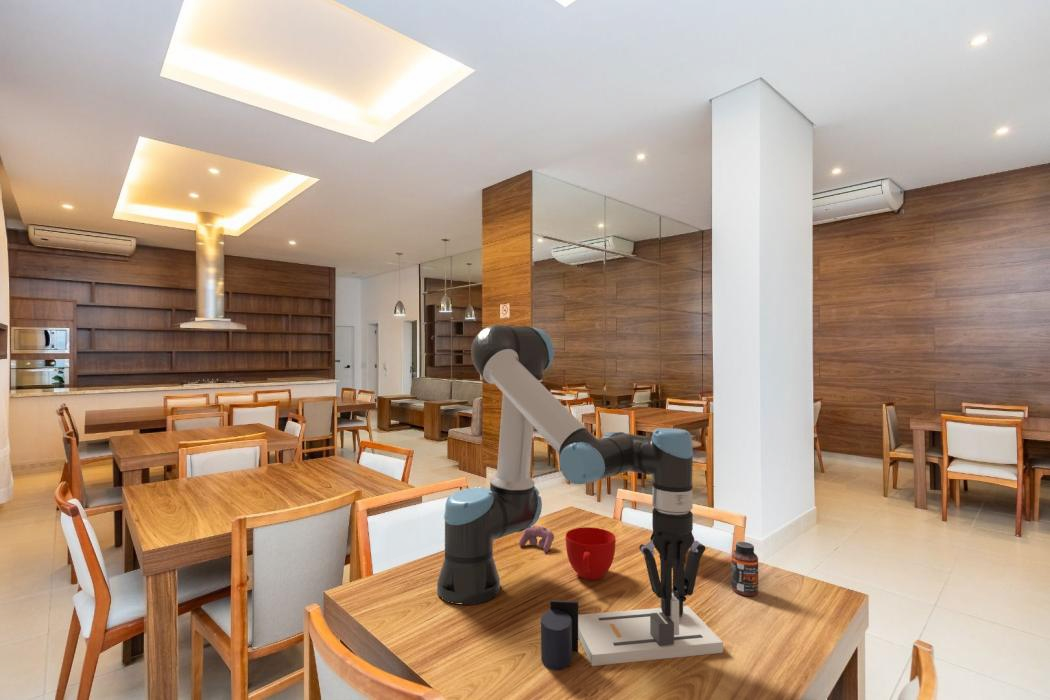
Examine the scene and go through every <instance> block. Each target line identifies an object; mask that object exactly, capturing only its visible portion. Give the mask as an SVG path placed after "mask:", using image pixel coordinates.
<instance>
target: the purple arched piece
mask: <svg viewBox="0 0 1050 700" xmlns="http://www.w3.org/2000/svg"><path fill="white" fill-rule="evenodd" d="M537 537H538V538H541V539H539V541H538V538H537ZM554 539H555V535H554V532H552V531H551V530H549V529H548V528H546V527H544V526H541V525H533V526H531V527H529V528H527V529H525V530H524V531H523V533H522V535H521V537H520V539H519V547H520V546H523V547H524V546H525V545H526V544H527V543H528V541H529V544H530V545H531V546H533V545H535V546H537V545H538V546H539V547H540V548H541V549H543V552H544V553H545V554H546V553H548V552H549V551H550V549H551V546H552V543H553V542H554Z"/></svg>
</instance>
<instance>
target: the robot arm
mask: <svg viewBox="0 0 1050 700" xmlns="http://www.w3.org/2000/svg"><path fill="white" fill-rule="evenodd" d="M470 353H471V354H470V355H471V360H472V363H473V366H474V368H475V369H476V371H477V373H478V374H479V375H480V376H481V377H482V378H483V379H484V380H485V382H487V383H488V384H490V385H495V386H496V387H497V388H498V389H499V391H500V392H501V393H502V399H501V415H500V427H499V439H498V440H499V441H498V453H497V467H496V473H495V475H494V476H492V477H491V478H490V486H489V488H486V487H480V486H478V487H476V486H474V487H472V488H471V487H468V488H467V487H466V488H463V489H460V490H457V491H455V492H453V493H452V494H450V495H449V496H448V497H447V499H446V502H445V509H444V514H443V519H444V560H443V563H442V566H441V569H440V573H439V575H438V579H437V582H436V583H437V584H436V585H437V587H436V593H438V594H437V596H438V595H439V596H440V597H441V598H443V599H444V600H446V601H449V602H453V603H462V604H470V605H475V604H474V603H478V604H482V603H485V602H487V601H489V600H492V599H493V598H495V597H497V596H498V594H499V592H500V589H501V580H500V579H501V578H500V575H499V572H498V569H497V565H496V563H495V560H494V553H493V552H494V550H493V549H494V547H493V546H494V545H493V544H494V541H495V540H498V539H501V538H503V537H507V536H510V535H513V534H515V533H520V532H524V531H525V530H526V529H527V528H529V527H531V526H535V524H536V523H537V522H538V521H539V518H540V516H541V514H542V510H543V509H542V508H543V507H542V506H543V502H542V497H541V496H540V492H539V490H538V488H537V487H536V486H535V483H536V482H535V481H534V480H533V478H532V477H531V476H530V473H531V472H530V470H531V459H532V446H533V432H534V429H535V430H536V431H537V432H538V433H539V434H540V436H542V438H544V439H545V441H546V442H547V443H548V444H549V445H550V446H551V447H552V449H554V450H555V452H556V453H558V455H559V462H558V463H559V464H558V465H559V468H560V469H561V473H562V476H563V477H564V478H565V479H566V480H567V481H568V482H570V483H572V484H574V485H584V484H591V483H595V482H598V481H600V480H602V479H603V480H604V479H607V478H610V477H614V476H619V475H622V474H624V473H629V472H632V473H638V474H645V475H651V478H652V479H651V480H652V491H651V492H652V501H651V502H652V505H651V506H653V509H652V512H651V513H652V524H651V525H652V533H651V536H650V541H649V542H647V543H646V544H643V543H642V544H640V545H639V546H638V548H639V550H640V552H641V554H642V555H643V557H644V562H645V566H646V570H647V575H648V578H649V582H650V583H649V584H650V587H651V591H652V592H653V594H655V596H656V597H657V598H658V599H661V598H662V612H663V614H664V615H665V616H668V617H669V618H670V619H671V620H672V621H673V622H674V635H679V615H682V614H683V606H684V602H686V600H687V597H686V596H692V595H693V593H694V589H695V584H696V581H697V577H698V576H697V575H698V571H699V566H700V563H701V562H700V561H701V559H702V558H701V557H702V556H703V555H704V553H705V551H706V546H705V545H703V544H702V543H701V542H700V541H698V540H695V537H694V534H693V529H694V527H693V526H694V525H693V523H694V519H693V518H694V516H693V515H694V514H693V512H692V510H693V465H694V464H693V461H694V460H693V459H694V458H693V457H694V451H693V438H692V433H690V432H689V431H688V430H687V429H683V428H673V427H672V428H670V427H669V428H668V427H664V428H663V427H661V428H660V427H659V428H656V429H654V430H653V431H652V434H651V435H652V436H644V435H638V434H631V433H625V432H621V431H619V432H615V431H610V432H606V433H605V434H604V435H603V436H602V437H601V438H597V437H596V436H595V435H594V434H592V432H590V431H589V430H588V429H587V428H586V426H585V425H584V424H582V423H581V422H580V421H579V420H578V418H577V417H575V416H574V415H573V414H572V413H571V412H570V411H569V410H568V409H567V408H566V406H564V404H563V403H561V402H560V401H559V399H557V398H556V396H554V395H553V394H552V393H551V391H549V390H548V389H547V388H546V387H545V385H544V384H542V383H541V382H543V378H544V372H545V371H546V370H548V369H549V367H550V366H551V365H552V363H553V360H554V355H555V349H554V345H553V341H552V339H551V338H550V337H549V335H548V334H547V333H546V332H545V331H544V330H542V329H540V328H538V327H537V328H536V327H531V326H529V325H528V326H524V325H523V326H521V325H503V324H492V325H490V326H485V328H483V329H482V330H480V331H479V332H478V333H477V335H475V337H474V339H473V342H472V343H471V350H470ZM655 550H656V551H657V553H658V554H659V560H660V574H659V571H658V570H659V569H658V565H657V562H656V559H655V557H654V556H655V555H656V554H655V553H656V552H655ZM687 553H688V554H687ZM686 556H687V557H686ZM686 558H687V559H686ZM672 589H673V593H674V595H673V594H672ZM439 596H438V597H439ZM440 597H439V598H440ZM441 598H440V599H441ZM443 599H442V600H443ZM444 600H443V601H444ZM446 601H445V602H446ZM449 602H448V603H449ZM481 602H482V603H481ZM453 603H452V604H453Z"/></svg>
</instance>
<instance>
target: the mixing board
mask: <svg viewBox="0 0 1050 700" xmlns="http://www.w3.org/2000/svg"><path fill="white" fill-rule="evenodd" d="M656 612H659V613H660V612H662V609H661V607H655V608H644V609H642V608H641V609H632V610H631V609H630V610H619V611H618V610H617V611H608V612H607V611H606V612H595V613H582V614H578V640H579V641H580V643H581V645H582V649H583V650H584V652H585V654H586V656H587V658H588V660H589V663H590V665H591V666H592V667H594V666H596V667H597V666H604V665H605V666H606V665H613V664H623V663H634V662H635V663H636V662H643V661H645V662H646V661H654V660H665V659H675V658H685V657H694V656H703V655H713V654H722V653H724V641H723V640H722V639H721V638H720V637H719V636H718V635H717V634H716V633H715V632H714V631H713V630H712V629H711V628H710V627H709V626H708V624H706V623H705V622H704V621H703V620H702V619H701V618H700V616H698V615H697V614H696V613H695V612H694V610H692V609H691V608H690V606H688V605H683V614H682V617H679V635H674V644H671V645H661V646H659V645H658V644H657V642H656V641H655V639H654V638H653V637H652V635H651V634H650V613H656Z"/></svg>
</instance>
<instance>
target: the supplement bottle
mask: <svg viewBox="0 0 1050 700" xmlns="http://www.w3.org/2000/svg"><path fill="white" fill-rule="evenodd" d="M730 569H731V574H730V575H731V582H730V583H731V589H732V591H733V592H735V593H736V594H739V595H740V596H744V597H745V596H746V597H754V596H756V595H757V594H758V593H759V557H758V555H757V554H756V553H755V546H754V544H752V543H750V542H747V541H737V542H736V543H735V549H734V550H733V551H732V552H731V568H730Z"/></svg>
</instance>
